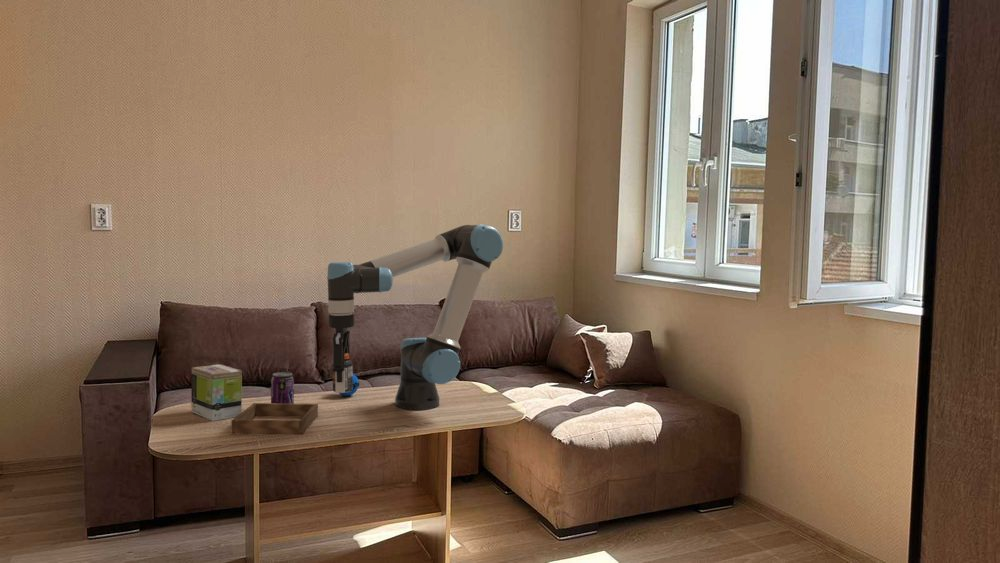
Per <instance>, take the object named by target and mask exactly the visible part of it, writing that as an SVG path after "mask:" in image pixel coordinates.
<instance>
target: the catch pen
mask: <svg viewBox="0 0 1000 563" xmlns="http://www.w3.org/2000/svg"><path fill="white" fill-rule="evenodd" d="M256 417H262V418H263V417H265V418H267V417H270V418H271V417H272V418H276V417H277V418H278V417H279V418H280V417H281V418H300V419H299V420H297V419H292V420H291V419H255V418H256ZM318 417H319V404H318V403H294V404H283V403H271V402H267V403H266V402H262V403H261V402H253V403H252V404H251V405H250V406H248V407H247V408H245V410H243V411H241V414H239V415H238V416H237V417H233V419H232V420H231V435H271V436H272V435H275V436H276V435H277V436H279V435H283V436H284V435H286V436H287V435H288V436H292V435H293V436H303V434H304V433H305V432H306V431H307V430H308V429H309V428H310V427H311V425H313V423H314V422H315V420H316V419H317V418H318Z"/></svg>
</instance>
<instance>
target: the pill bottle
mask: <svg viewBox="0 0 1000 563" xmlns="http://www.w3.org/2000/svg"><path fill="white" fill-rule="evenodd" d="M353 367H354V366H353V362H352V360H351V359H350V360H349V354H348V353H344V371H345V393H346V392H350V391H352V390H353V374H354V373H353V372H354V371H353ZM333 368H334V361H333V362H332V369H333ZM332 391H333V392H334V393H336V390H335V371H332Z"/></svg>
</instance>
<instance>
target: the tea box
mask: <svg viewBox="0 0 1000 563" xmlns="http://www.w3.org/2000/svg"><path fill="white" fill-rule="evenodd" d="M242 374H243V372H242V370H241V369H238V368H234V367H231V366H228V365H224V364H220V363H219V364H212V365H210V364H209V365H201V366H193V367H191V377H190V378H191V396H190V398H191V402H190V405H191V406H190V407H191V413H194V414H196V415H197V416H200V417H202V418H205V419H207V420H210V421H212V422H215V421H220V420H227V419H232V418H233V419H234V418H235V417H237V416H238V415H239V414H241V413H242V412H243V411H242V410H243V409H242V407H243V405H242V402H243V400H242V397H243V396H242V393H243V392H242V391H243V389H242V388H243V385H242V383H243V375H242Z"/></svg>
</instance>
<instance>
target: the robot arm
mask: <svg viewBox="0 0 1000 563" xmlns="http://www.w3.org/2000/svg"><path fill="white" fill-rule="evenodd" d="M503 249H504V240H503V238H502V235H501V234H500V232H499V230H497V229H496V228H495V227H493V226H491V225H485V224H464V225H460V226H458V227H456V228H452V229H450V230H447V231H444V232H443V233H439V234H437V235H436V236H435V238H434V239H431V240H428V241H425V242H421V243H419V244H417V245H414V246H410V247H408V248H404V249H401V250H399V251H395V252H392V253H390V254H387V255H383V256H380V257H378V258H375V259H371V260H369V261H366V262H362V263H360V264H353V262H351V261H350V262H349V261H333V262H330V263H329V264H327V276H326V278H327V279H326V280H327V296H328V297H327V301H328V302H326V306H327V307H328V308H327V309H328V310H327V311H328V314H329V315H328V316H327V319H328V323H327V324H328V327H329V328H331V329H335V333H333V337H332V343H333V362H334V368H333V367H332V370H331V371H332V372H333V371H335V390H336V392H335V393H336V394H339V393H345V371H344V353H348V354H349V360H350V361H351V352H350V348H351V346H350V343H351V342H350V335H351V333H350V330H348V329H349V328H353V327H354V326H355V315H354V314H353V313H355V296H354V295H355V294H361V293H362V294H365V293H366V294H370V293H380V294H381V293H384V292H389V291H390V290H391V289H392V287H393V282H394V280H393V278H395V277H398V276H401V275H403V274H406V273H410V272H412V271H414V270H418V269H420V268H424V267H426V266H429V265H432V264H435V263H437V262H440V261H442V262H444V263H445V262H449V261H452V260H456V262H457V264H458V265H457V268H456V270H455V273H454V275H453V279H452V280H451V284H450V287H449V288H448V292H447V295H446V297H445V300H444V303H443V305H442V309H441V311H440V314H439V316H438V319H437V322H436V325H435V328H434V330H433V332H432V333H430V334H428V335H426V337H413V338H412V337H410V338H404V339H402V340H401V343H400V344H401V345H400V383H399V385H398V389H397V392H396V394H395V397H394V405H395V407H397V408H400V409H404V410H414V411H415V410H429V409H430V410H431V409H434V408H437V407H439V406H440V396H439V392H438V388H437V385H444V384H445V385H446V384H447V383H450V382H451V381H453V380H454V379H455V378H456V377H457V375H458V374H459V372H460V370H461V361H460V357H459V354H460V351H461V349H462V348H461V345H460V343H459V340H460V337H461V334H462V331H463V329H464V326H465V324H466V321H467V318H468V315H469V312H470V309H471V307H472V304H473V301H474V298H475V297H476V296H475V295H476V294H477V291H478V288H479V286H480V282H481V280H482V277H483V274H484V273H486V272H488V271H489V270H490V268H491V266H492V262H493V261H496V259H499V257H500V256H501V254H502V252H503ZM436 384H437V385H436Z"/></svg>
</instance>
